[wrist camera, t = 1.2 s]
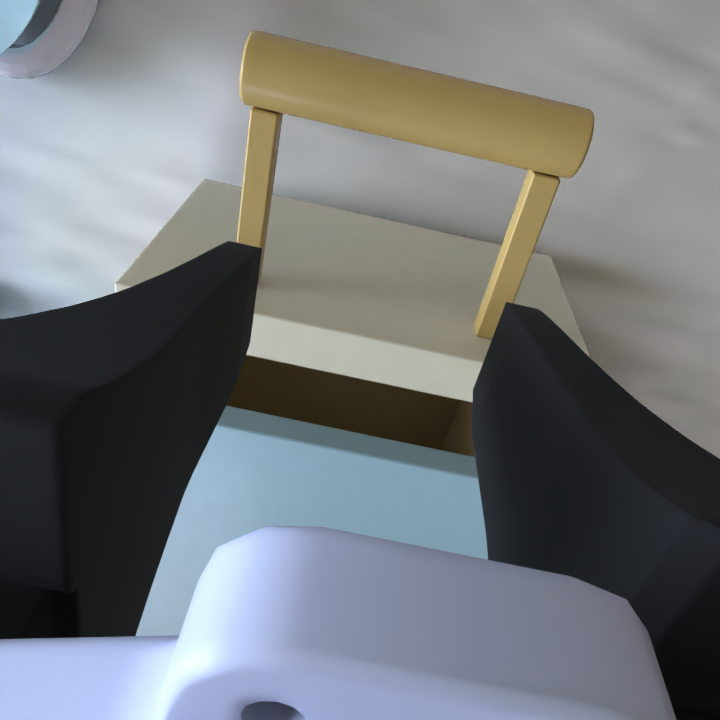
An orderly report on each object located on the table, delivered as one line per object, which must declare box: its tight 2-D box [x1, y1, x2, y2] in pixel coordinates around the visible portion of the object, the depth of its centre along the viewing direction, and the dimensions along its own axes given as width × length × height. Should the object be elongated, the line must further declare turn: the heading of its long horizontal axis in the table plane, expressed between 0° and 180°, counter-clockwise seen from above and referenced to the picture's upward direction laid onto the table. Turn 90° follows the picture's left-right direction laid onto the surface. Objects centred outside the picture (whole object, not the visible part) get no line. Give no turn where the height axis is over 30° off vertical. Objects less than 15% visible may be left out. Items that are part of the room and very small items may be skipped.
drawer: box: [115, 30, 594, 457], centre depth 21 cm, size 21×11×7 cm, turn 168°
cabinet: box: [136, 406, 488, 636], centre depth 24 cm, size 17×13×9 cm
